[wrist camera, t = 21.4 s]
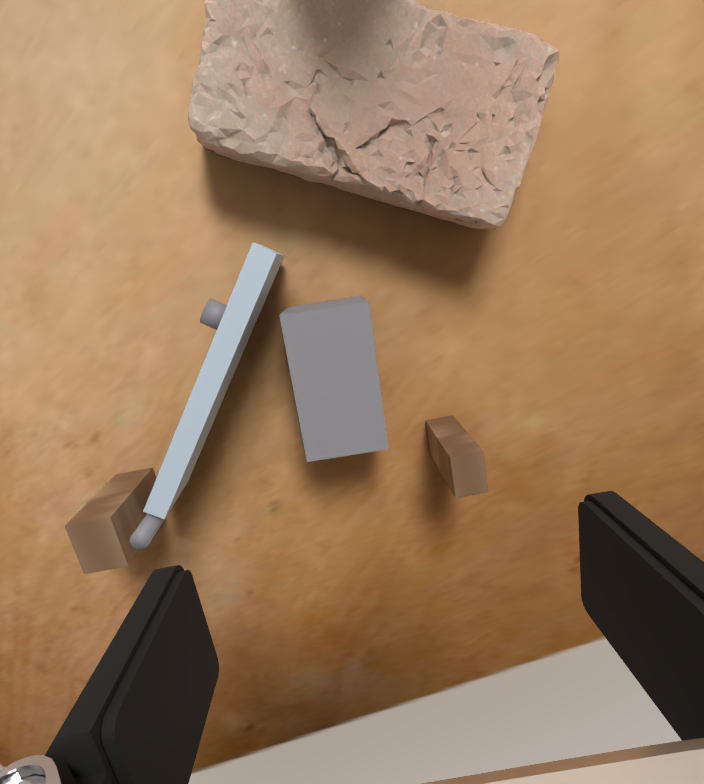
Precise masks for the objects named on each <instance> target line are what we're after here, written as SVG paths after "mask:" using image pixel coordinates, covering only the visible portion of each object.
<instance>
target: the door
mask: <svg viewBox="0 0 704 784" xmlns="http://www.w3.org/2000/svg"><path fill="white" fill-rule="evenodd" d="M283 258H284V255H282V254H280V253H278V252H276V251H274V250H272V249H270V248H268V247H266V246H263V245H260V244H257V243H254V242H253V243H252V246H251V248H250V250H249V253H248V255H247V258H246V260H245V263H244V265H243V268H242V270H241V273H240V275H239V277H238V280H237V282H236V285H235V287H234V290H233V292H232V295H231V297H230V300H229V302H228V304H227V305H225V304H222V303H220V302H218V301H216V300H214V299H212V298H211V299H209V301H208V302H207V304H206V306H205V308H204V310H203V312H202V315H201V318H200V323H203V324H205V325H207V326H209V327H211V328H214V329H216V330H217V331H216V334H215V336H214V339H213V341H212V344H211V346H210V349H209V351H208V353H207V356H206V358H205V361H204V363H203V366H202V368H201V371H200V373H199V376H198V378H197V380H196V383H195V385H194V388H193V390H192V393H191V395H190V398H189V400H188V403H187V405H186V407H185V410H184V412H183V415H182V417H181V420H180V422H179V425H178V427H177V430H176V432H175V434H174V437H173V439H172V442H171V444H170V447H169V449H168V452H167V454H166V457H165V459H164V461H163V464H162V466H161V469H160V471H159V474H158V476H157V479H156V481H155V483H154V486H153V488H152V491H151V493H150V496H149V498H148V501H147V503H146V506H145V508H144V510H143V512H146V513H147V515H146V516H145V518H144V519H143V520H142V522H141V523H140V525H139V526H138V527H137V529H136V530H135V531H134V533H133V534H132V536H131V537H130V544H131V545H132V546H133V547H134V548H136V549H145V548H147V547H148V545H149V544H150V542H151V541H152V539H153V537H154V536H155V534H156V533H157V531H158V529H159V528H160V526H161V525H162V523H163V521H164V520H165V518H166V517H167V515H168V514H169V512H170V510H171V509H172V507H173V506H174V504H175V502H176V501H177V499H178V498H179V496H180V494H181V493H182V491H183V489H184V488H185V486H186V484H187V483H188V481H189V478H190V476H191V474H192V471H193V469H194V467H195V464H196V462H197V460H198V457H199V455H200V453H201V450H202V448H203V445H204V443H205V441H206V438H207V436H208V434H209V431H210V429H211V427H212V424H213V422H214V420H215V417H216V415H217V413H218V410H219V408H220V406H221V403H222V401H223V399H224V396H225V394H226V392H227V389H228V387H229V385H230V382H231V380H232V378H233V375H234V373H235V370H236V368H237V366H238V363H239V361H240V359H241V356H242V354H243V352H244V349H245V347H246V345H247V342H248V340H249V338H250V335H251V333H252V331H253V328H254V326H255V324H256V321H257V319H258V317H259V314H260V312H261V310H262V307H263V305H264V302H265V300H266V298H267V295H268V293H269V291H270V288H271V286H272V284H273V281H274V279H275V277H276V274H277V272H278V270H279V267H280V265H281V263H282V260H283Z"/></svg>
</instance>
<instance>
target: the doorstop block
mask: <svg viewBox="0 0 704 784" xmlns="http://www.w3.org/2000/svg"><path fill="white" fill-rule="evenodd" d="M279 316H280V322H281V327H282V332H283V338H284V343H285V348H286V353H287V359H288V364H289V369H290V375H291V380H292V385H293V391H294V396H295V401H296V406H297V412H298V417H299V422H300V428H301V433H302V438H303V444H304V449H305V454H306V459H307V462H311V461H317V460H323V459H330V458H336V457H342V456H349V455H355V454H361V453H367V452H374V451H380V450H386V449H388V441H387V434H386V426H385V419H384V411H383V404H382V396H381V389H380V381H379V374H378V366H377V359H376V351H375V344H374V336H373V329H372V321H371V314H370V306H369V301H367V300H366V299H365V298H364V297H362V296H356V297H350V298H343V299H337V300H330V301H324V302H317V303H310V304H304V305H297V306H291V307H287V308H286V309H285V310H284V311H283V312H282V313H281V314H280V315H279Z"/></svg>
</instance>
